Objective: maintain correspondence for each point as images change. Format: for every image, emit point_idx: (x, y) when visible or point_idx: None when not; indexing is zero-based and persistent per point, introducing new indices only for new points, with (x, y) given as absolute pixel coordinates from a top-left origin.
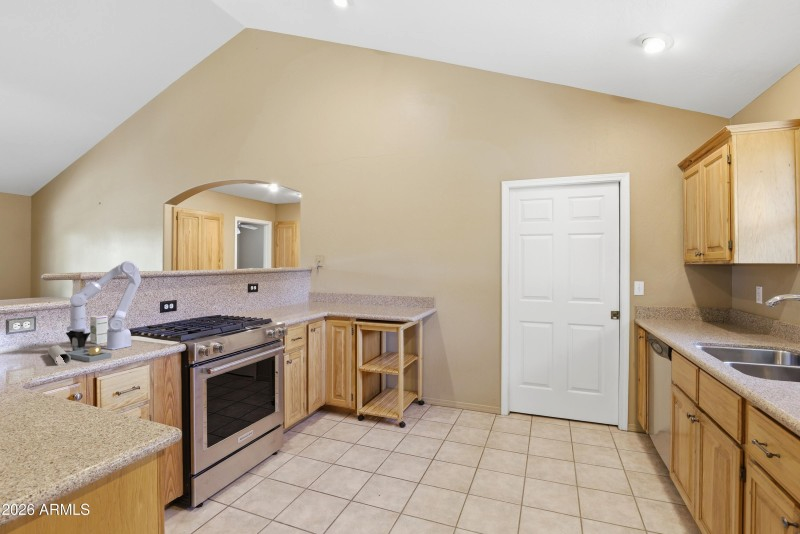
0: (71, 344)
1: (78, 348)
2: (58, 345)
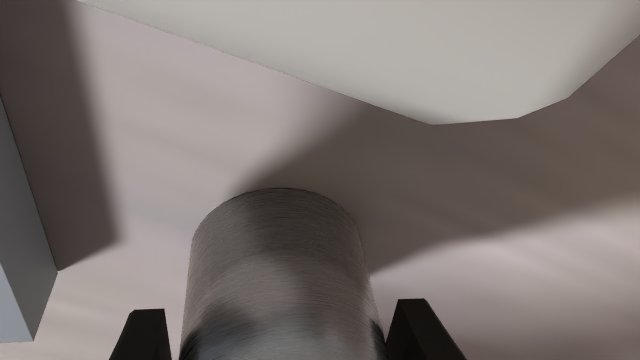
0: (434, 330)
1: (190, 293)
2: (451, 88)
